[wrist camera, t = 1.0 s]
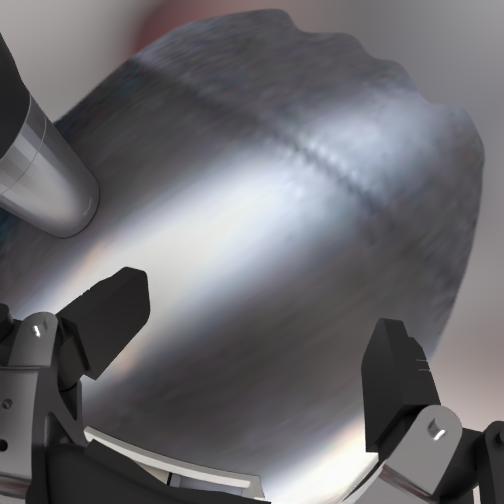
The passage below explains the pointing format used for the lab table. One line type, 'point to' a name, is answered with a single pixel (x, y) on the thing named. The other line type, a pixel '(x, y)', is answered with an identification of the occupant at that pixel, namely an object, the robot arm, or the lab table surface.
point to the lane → (181, 465)
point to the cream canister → (155, 471)
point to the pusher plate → (175, 480)
